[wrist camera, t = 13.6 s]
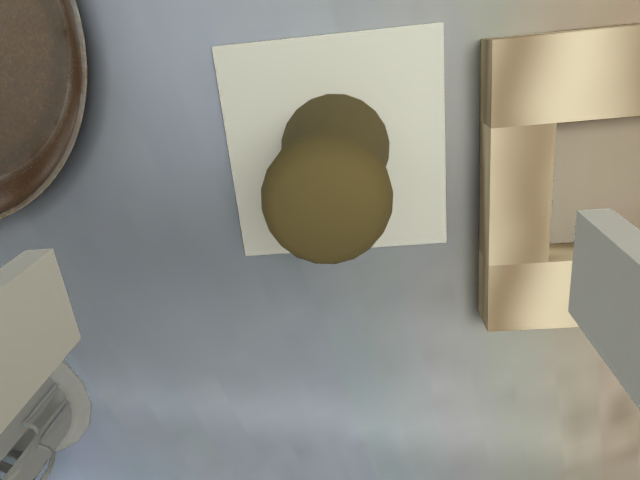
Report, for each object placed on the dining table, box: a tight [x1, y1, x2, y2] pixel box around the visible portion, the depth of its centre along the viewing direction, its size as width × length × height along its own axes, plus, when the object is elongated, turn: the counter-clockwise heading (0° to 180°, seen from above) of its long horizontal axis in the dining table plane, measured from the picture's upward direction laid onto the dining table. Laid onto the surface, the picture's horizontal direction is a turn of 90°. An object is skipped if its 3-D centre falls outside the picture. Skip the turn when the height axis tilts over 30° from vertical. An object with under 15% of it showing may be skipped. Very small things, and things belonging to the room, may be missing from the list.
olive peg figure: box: [261, 94, 393, 264], centre depth 25 cm, size 6×6×11 cm
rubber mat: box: [212, 22, 446, 256], centre depth 30 cm, size 12×12×1 cm
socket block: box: [478, 23, 640, 332], centre depth 29 cm, size 14×16×2 cm
